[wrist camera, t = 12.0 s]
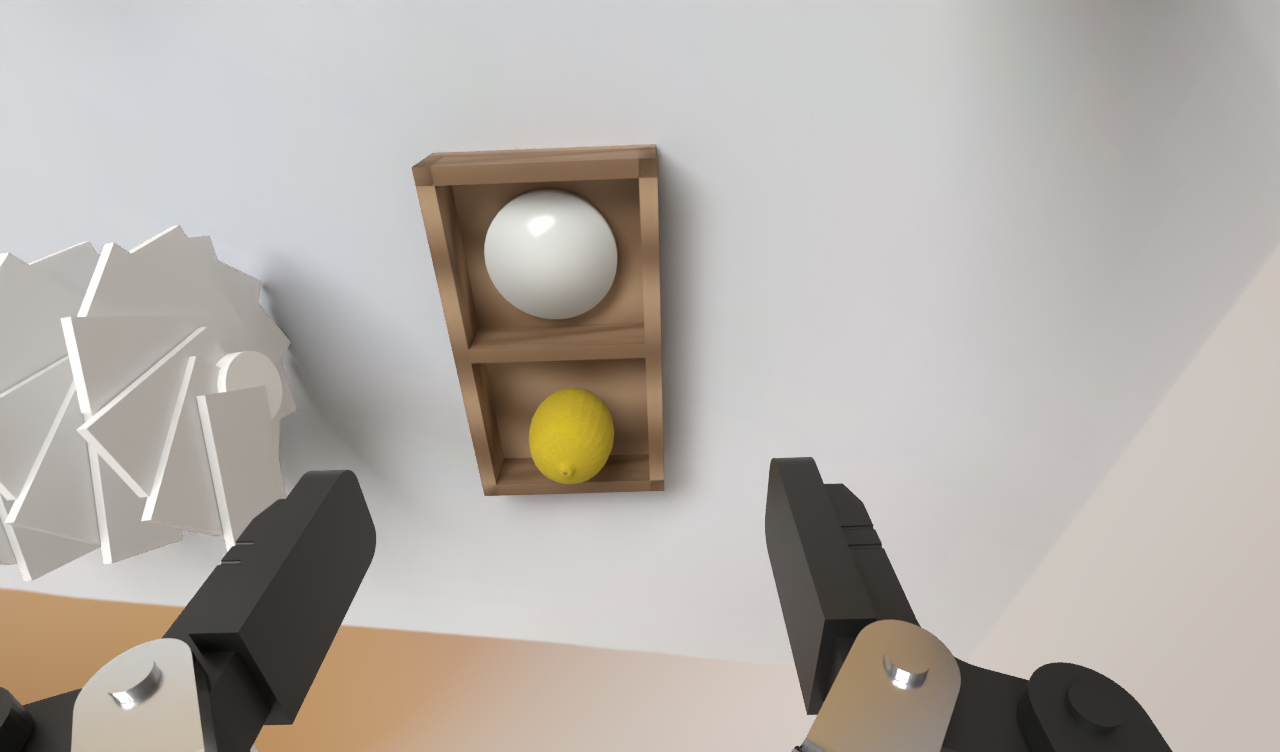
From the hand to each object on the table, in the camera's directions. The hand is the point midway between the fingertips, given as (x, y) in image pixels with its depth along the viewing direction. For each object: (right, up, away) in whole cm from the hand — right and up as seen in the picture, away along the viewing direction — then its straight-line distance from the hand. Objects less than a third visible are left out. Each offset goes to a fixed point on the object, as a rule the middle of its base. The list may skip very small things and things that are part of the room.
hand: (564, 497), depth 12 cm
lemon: (-3, +1, +32) cm, 32 cm away
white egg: (-4, +10, +26) cm, 28 cm away
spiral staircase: (-32, +5, +30) cm, 44 cm away
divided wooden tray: (-4, +6, +29) cm, 30 cm away
